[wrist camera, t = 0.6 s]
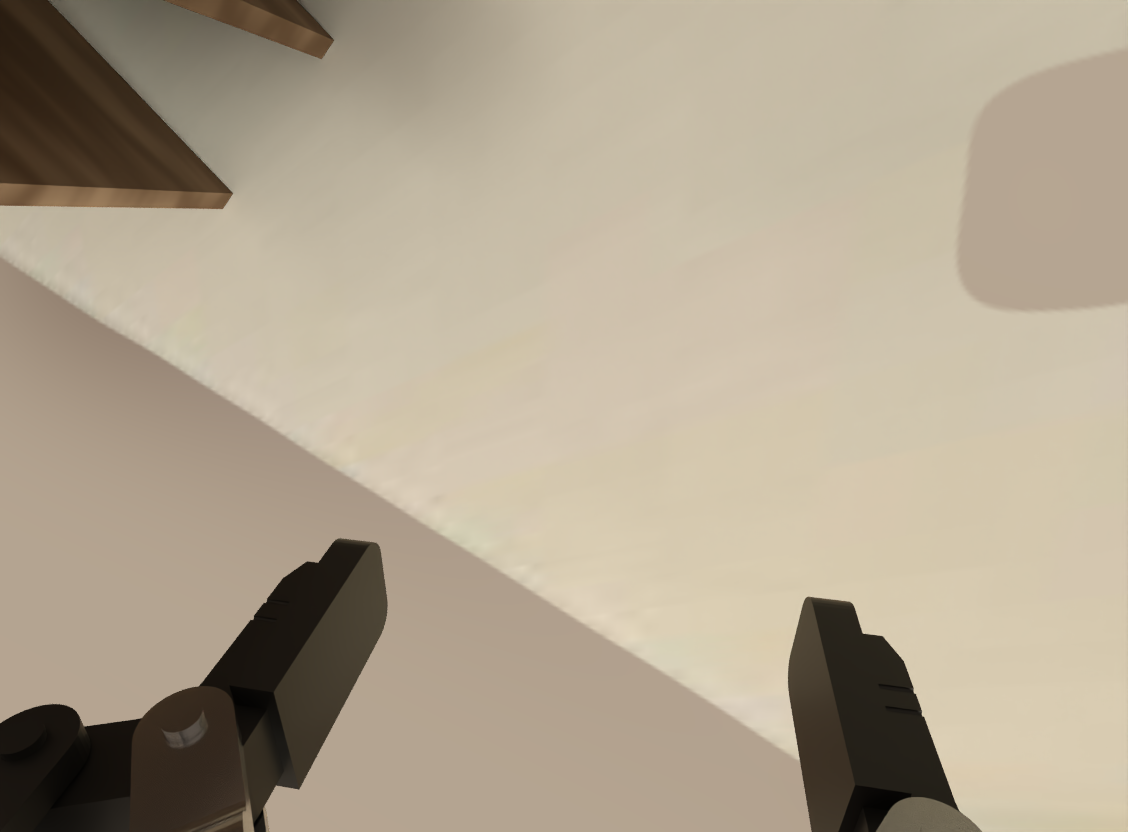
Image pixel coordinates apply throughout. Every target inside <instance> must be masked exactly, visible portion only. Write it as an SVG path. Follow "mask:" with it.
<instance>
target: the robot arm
mask: <svg viewBox="0 0 1128 832" xmlns="http://www.w3.org/2000/svg"><path fill="white" fill-rule="evenodd" d="M386 616H387V595H386V587H385V580H384V573H383V565H382V558H381V551H380V547H379V545H378V544H377V543H374V542H366V541H357V540H349V539H337V540H335V541H334V542H333V543H332V545H331V546H330V547H329V549H328V550H327V552H326V553H325V554H324V556H323V557H322V559H321V560H320V561H319V563H315V562H306V563H304V564H303V565H302V566H300V567H299V568H297V569H296V570H294V571H293V572H291V573H290V574H289V575H287V576H286V577H284V578H283V579H282V580H281V582H280V583H279V584H278V585H277V587H276V588H275V589H274V591H273V592H272V593H271V595H270V596H269V597H268V598H267V602H266V603H264V604H263V605H262V606H261V607H260V609H259V610H258V611H257V613H256V614H255V615H254V620H250V622H249V623H248V624H247V625H246V627H245V628H244V629H243V631H242V632H241V633H240V634H239V636H238V637H237V638H236V640H235V641H234V642H233V644H232V645H231V646H230V647H229V649H228V650H227V651H226V653H225V654H224V655H223V656H222V658H221V659H220V660H219V662H218V663H217V664H216V665H215V667H214V668H213V669H212V671H211V672H210V673H209V675H208V676H207V677H206V678H205V680H204V681H203V682H202V683H201V684H200V686H199V687H192V688H188V689H185V690H182V691H179V692H177V693H174V694H172V695H170V696H168V697H166V698H165V699H163V700H162V701H160V702H159V703H157V704H156V705H155V706H153V707H152V708H151V709H150V710H149V711H148V712H147V713H146V714H145V715H144V716H143V718H141V719H136V720H129V721H122V722H114V723H107V724H100V725H93V726H86V727H84V726H83V723H82V721H81V719H80V717H79V715H78V714H77V712H76V711H75V710H74V709H73V708H70V707H68V706H65V705H60V704H51V705H42V706H38V707H34V708H31V709H28V710H25V711H23V712H20V713H18V714H16V715H14V716H12V717H10V718H8V719H6V720H5V721H3V722H2V723H0V832H269V826H268V819H267V813H266V809H265V804H266V802H267V800H268V799H269V797H270V795H271V793H272V792H273V790H274V788H275V786H276V785H277V786H283V787H289V788H294V789H300V787H301V785H302V783H303V781H304V779H305V777H306V775H307V773H308V772H309V770H310V768H311V766H312V764H313V762H314V760H315V758H316V757H317V754H318V753H319V751H320V749H321V747H322V745H323V743H324V741H325V740H326V738H327V736H328V734H329V732H330V730H331V728H332V726H333V724H334V723H335V721H336V718H337V717H338V715H339V713H340V711H341V709H342V707H343V705H344V704H345V702H346V700H347V698H348V696H349V694H350V692H351V690H352V688H353V686H354V684H355V683H356V681H357V679H358V677H359V675H360V673H361V671H362V669H363V668H364V666H365V664H366V662H367V660H368V658H369V656H370V654H371V653H372V651H373V649H374V647H375V645H376V643H377V641H378V639H379V637H380V635H381V633H382V631H383V628H384V625H385V621H386ZM788 688H789V697H790V703H791V709H792V715H793V721H794V727H795V733H796V739H797V745H798V751H799V757H800V763H801V769H802V775H803V781H804V787H805V794H806V800H807V806H808V812H809V818H810V824H811V830H812V832H982V831H981V830H980V829H979V828H978V827H977V826H976V825H975V824H974V823H973V822H972V821H971V820H970V819H969V818H967V817H966V816H965V815H963V814H962V813H961V812H960V811H959V810H958V807H957V805H956V803H955V800H954V798H953V795H952V792H951V789H950V787H949V784H948V781H947V778H946V776H945V773H944V770H943V768H942V765H941V762H940V759H939V757H938V754H937V751H936V748H935V746H934V743H933V740H932V737H931V735H930V732H929V729H928V726H927V724H926V721H925V718H924V717H922V710H921V707H920V704H919V702H918V699H917V696H916V694H914V692H913V689H914V688H913V685H912V683H911V680H910V677H909V674H908V672H907V669H906V666H905V663H904V661H903V660H902V659H901V657H900V656H899V655H898V654H897V653H896V652H895V650H894V649H893V648H892V647H891V646H890V644H889V643H888V642H887V641H886V640H885V639H884V637H883V636H877V635H869V634H863V633H862V630H861V627H860V624H859V621H858V617H857V614H856V611H855V608H854V606H853V604H852V603H851V602H847V601H839V600H831V599H822V598H814V597H807V598H806V599H805V601H804V603H803V607H802V611H801V615H800V619H799V623H798V627H797V631H796V635H795V639H794V643H793V647H792V651H791V655H790V660H789V668H788Z"/></svg>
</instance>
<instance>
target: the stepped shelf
mask: <svg viewBox="0 0 1128 832" xmlns="http://www.w3.org/2000/svg"><path fill="white" fill-rule="evenodd" d="M164 1H167V2H170V3H172V4H175V5H178V6H180V7H183V8H186V9H189V10H191V11H194V12H197V13H199V14H202V15H205V16H207V17H210V18H213V19H215V20H218V21H221V22H223V23H226V24H229V25H232V26H234V27H237V28H240V29H242V30H245V31H248V32H250V33H253V34H256V35H258V36H261V37H264V38H266V39H269V40H272V41H275V42H277V43H280V44H283V45H285V46H288V47H291V48H293V49H296V50H299V51H301V52H304V53H307V54H309V55H312V56H315V57H318V58H320V59H322V58H323V56H324V55H325V53H326V52H327V50H328V49H329V47H330V46H331V44H332V42H333V41H334V40H333V39H332V38H331V37H330V36H329V35H328V33H327V32H326V31H325V30H324V29H323V28H322V27H321V26H320V25H319V24H318V23H317V22H316V21H315V20H314V19H313V18H312V17H311V15H310V14H309V13H308V12H307V11H306V10H305V9H304V8H303V7H302V6H301V5H300V4H299V3H298V2H297V1H296V0H164ZM232 194H233V193H232V192H231V191H230V190H229V189H228V188H227V187H226V186H225V185H224V184H223V183H222V182H221V181H220V180H219V179H218V178H217V177H216V176H215V175H214V174H213V173H212V172H211V170H210V169H209V168H208V167H207V166H206V165H205V164H204V163H203V162H202V161H201V160H200V159H199V158H198V157H197V156H196V155H195V154H194V153H193V152H192V151H191V150H190V149H189V148H188V146H187V145H186V144H185V143H184V142H183V141H182V140H181V139H180V138H179V137H178V136H177V135H176V134H175V133H174V132H173V131H172V130H171V129H170V128H169V127H168V126H167V125H166V124H165V122H164V121H163V120H162V119H161V118H160V117H159V116H158V115H157V114H156V113H155V112H154V111H153V110H152V109H151V108H150V107H149V106H148V105H147V104H146V103H145V102H144V101H143V100H142V98H141V97H140V96H139V95H138V94H137V93H136V92H135V91H134V90H133V89H132V88H131V87H130V86H129V85H128V84H127V83H126V82H125V81H124V80H123V79H122V78H121V77H120V76H119V75H118V73H117V72H116V71H115V70H114V69H113V68H112V67H111V66H110V65H109V64H108V63H107V62H106V61H105V60H104V59H103V58H102V57H101V56H100V55H99V54H98V53H97V52H96V51H95V49H94V48H93V47H92V46H91V45H90V44H89V43H88V42H87V41H86V40H85V39H84V38H83V37H82V36H81V35H80V34H79V33H78V32H77V31H76V30H75V29H74V28H73V27H72V25H71V24H70V23H69V22H68V21H67V20H66V19H65V18H64V17H63V16H62V15H61V14H60V13H59V12H58V11H57V10H56V9H55V8H54V7H53V6H52V5H51V4H50V3H49V1H48V0H0V205H4V206H69V207H134V208H200V209H223V208H224V206H225V205H226V203H227V202H228V200H229V199H230V197H231V196H232Z"/></svg>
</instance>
